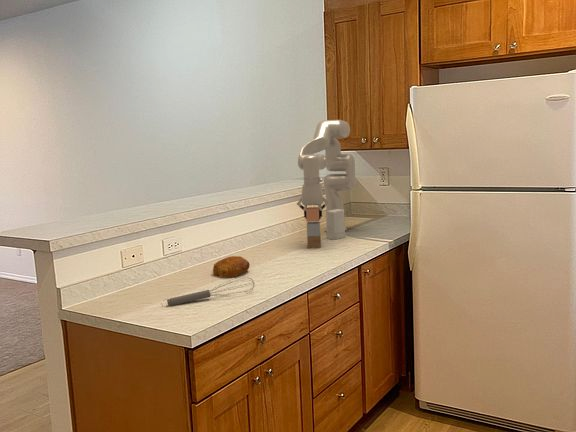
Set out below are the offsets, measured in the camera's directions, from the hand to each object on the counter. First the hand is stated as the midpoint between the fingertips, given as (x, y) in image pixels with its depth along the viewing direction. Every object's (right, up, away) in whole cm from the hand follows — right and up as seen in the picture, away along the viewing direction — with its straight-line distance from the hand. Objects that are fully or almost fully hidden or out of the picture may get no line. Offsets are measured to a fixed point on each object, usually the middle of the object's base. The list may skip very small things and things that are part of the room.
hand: (313, 218), depth 279 cm
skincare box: (+13, -11, +22) cm, 27 cm away
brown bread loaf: (-36, -23, -42) cm, 59 cm away
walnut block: (+1, -14, +2) cm, 14 cm away
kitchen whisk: (-39, -28, -77) cm, 91 cm away
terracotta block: (0, -1, 0) cm, 1 cm away
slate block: (0, -8, +1) cm, 8 cm away
